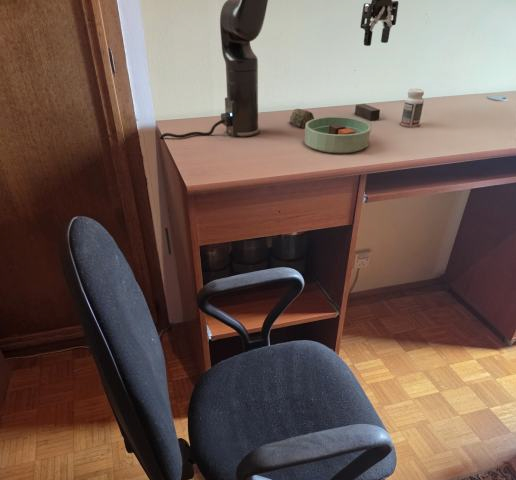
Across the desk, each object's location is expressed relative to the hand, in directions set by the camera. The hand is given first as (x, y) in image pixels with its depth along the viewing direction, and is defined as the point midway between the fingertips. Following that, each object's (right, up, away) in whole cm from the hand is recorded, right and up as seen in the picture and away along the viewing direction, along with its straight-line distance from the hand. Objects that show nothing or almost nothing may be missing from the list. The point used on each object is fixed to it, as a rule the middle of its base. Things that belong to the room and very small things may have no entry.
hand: (375, 44), depth 140 cm
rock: (-22, -22, +7) cm, 32 cm away
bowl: (-14, -35, -8) cm, 38 cm away
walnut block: (-14, -32, -7) cm, 36 cm away
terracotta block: (-11, -35, -10) cm, 39 cm away
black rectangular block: (0, -16, +13) cm, 21 cm away
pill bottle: (+13, -22, +6) cm, 26 cm away
